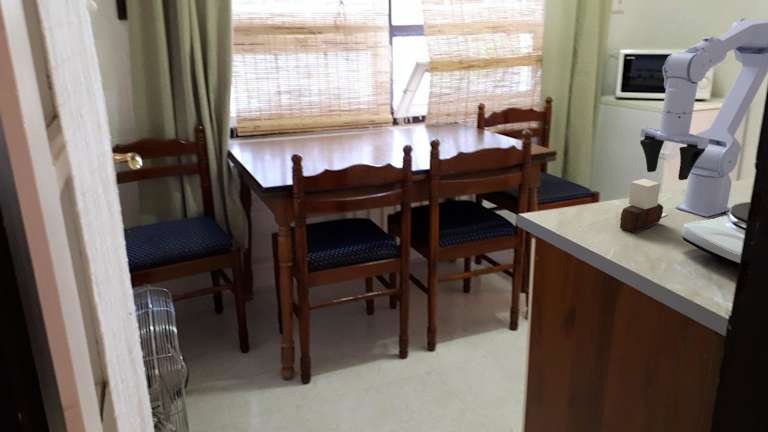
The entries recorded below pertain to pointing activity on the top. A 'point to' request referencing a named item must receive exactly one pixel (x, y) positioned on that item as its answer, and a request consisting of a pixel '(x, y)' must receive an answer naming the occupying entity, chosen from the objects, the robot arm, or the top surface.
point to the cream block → (644, 193)
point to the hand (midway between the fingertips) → (666, 175)
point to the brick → (640, 217)
